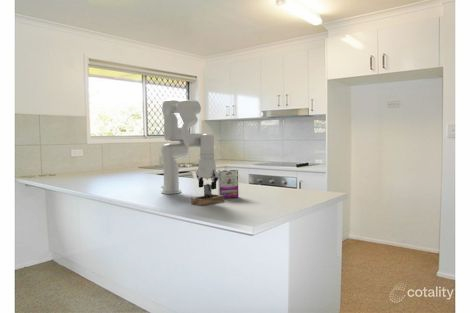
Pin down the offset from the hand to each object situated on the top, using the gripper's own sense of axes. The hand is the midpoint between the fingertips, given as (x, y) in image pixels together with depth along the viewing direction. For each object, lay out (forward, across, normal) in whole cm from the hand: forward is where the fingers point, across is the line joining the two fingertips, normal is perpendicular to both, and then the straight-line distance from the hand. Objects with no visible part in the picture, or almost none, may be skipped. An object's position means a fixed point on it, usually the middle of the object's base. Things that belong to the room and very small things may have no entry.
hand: (207, 188), depth 187 cm
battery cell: (+7, +1, 0) cm, 7 cm away
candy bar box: (+8, 0, +18) cm, 20 cm away
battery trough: (+8, +1, 0) cm, 8 cm away
